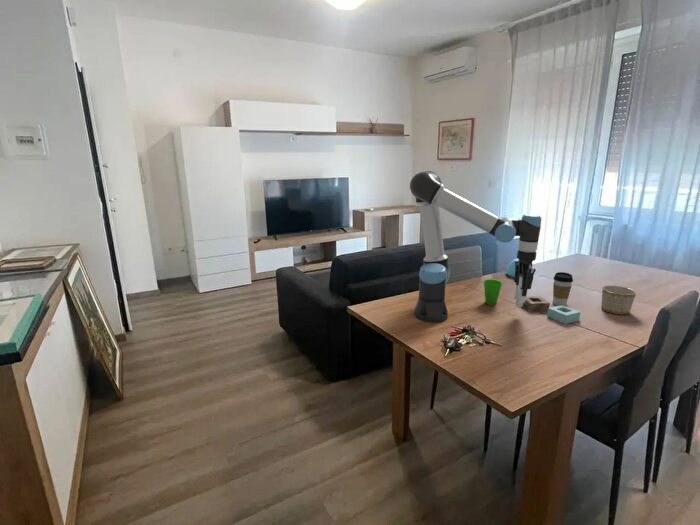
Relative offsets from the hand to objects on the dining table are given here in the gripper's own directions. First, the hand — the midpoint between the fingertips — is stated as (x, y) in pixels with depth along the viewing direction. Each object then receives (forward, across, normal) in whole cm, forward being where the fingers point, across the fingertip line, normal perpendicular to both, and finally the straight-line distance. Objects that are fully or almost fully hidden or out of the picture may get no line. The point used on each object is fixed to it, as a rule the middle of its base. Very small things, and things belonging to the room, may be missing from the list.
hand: (519, 300), depth 168 cm
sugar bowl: (+8, +59, -31) cm, 67 cm away
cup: (+8, +17, +5) cm, 19 cm away
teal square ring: (+7, -4, -19) cm, 20 cm away
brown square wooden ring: (+7, +9, -13) cm, 17 cm away
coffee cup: (+7, +13, -28) cm, 31 cm away
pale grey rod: (+3, 0, 0) cm, 3 cm away
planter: (+7, +2, -48) cm, 48 cm away
